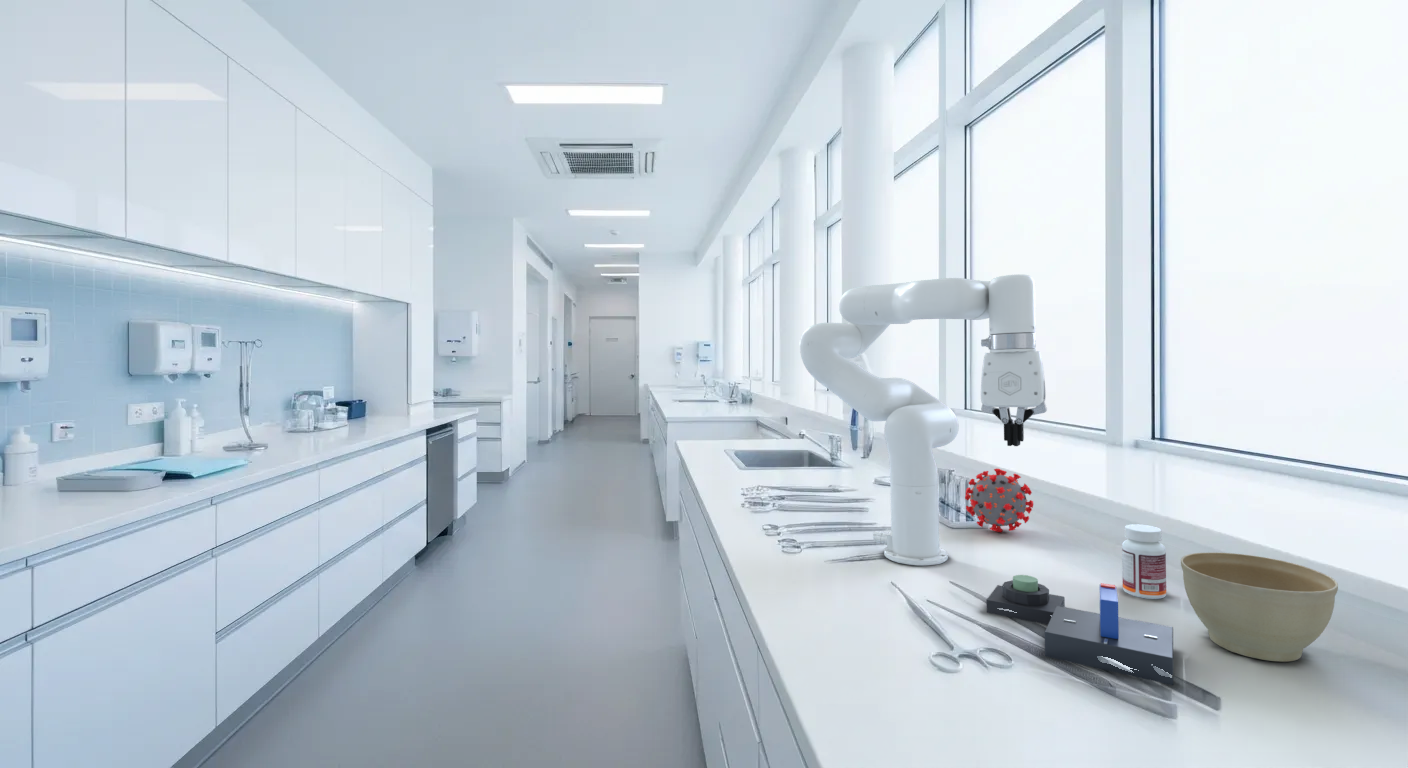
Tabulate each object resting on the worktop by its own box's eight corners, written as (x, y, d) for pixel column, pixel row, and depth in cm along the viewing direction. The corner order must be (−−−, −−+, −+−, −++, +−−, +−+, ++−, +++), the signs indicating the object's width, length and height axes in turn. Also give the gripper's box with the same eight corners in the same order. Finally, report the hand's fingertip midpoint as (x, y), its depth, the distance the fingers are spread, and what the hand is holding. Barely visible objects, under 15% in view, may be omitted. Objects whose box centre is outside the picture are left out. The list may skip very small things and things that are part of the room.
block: (986, 613, 100) (986, 588, 100) (997, 597, 107) (997, 574, 107) (1057, 627, 94) (1057, 601, 94) (1064, 610, 101) (1064, 585, 101)
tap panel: (1044, 656, 85) (1044, 630, 85) (1056, 628, 94) (1056, 604, 94) (1173, 686, 77) (1172, 656, 77) (1173, 652, 85) (1172, 625, 85)
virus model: (974, 540, 141) (973, 474, 141) (958, 523, 156) (957, 463, 155) (1043, 541, 139) (1042, 474, 138) (1020, 524, 153) (1019, 463, 153)
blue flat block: (1118, 639, 82) (1118, 600, 82) (1100, 636, 83) (1100, 597, 83) (1116, 621, 87) (1116, 584, 87) (1099, 618, 88) (1099, 582, 88)
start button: (1010, 590, 100) (1010, 579, 100) (1015, 583, 103) (1015, 573, 103) (1035, 594, 98) (1035, 583, 98) (1039, 588, 101) (1039, 577, 101)
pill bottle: (1172, 594, 106) (1172, 528, 105) (1157, 603, 102) (1156, 534, 102) (1131, 584, 111) (1131, 521, 111) (1115, 592, 107) (1114, 527, 107)
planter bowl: (1216, 669, 80) (1216, 585, 80) (1161, 619, 96) (1160, 549, 96) (1372, 682, 76) (1372, 594, 76) (1288, 628, 92) (1287, 555, 91)
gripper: (963, 345, 114) (965, 445, 115) (1056, 342, 105) (1057, 450, 106) (973, 346, 120) (975, 441, 121) (1062, 342, 111) (1063, 445, 112)
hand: (1013, 445), depth 113 cm, fingers closed
